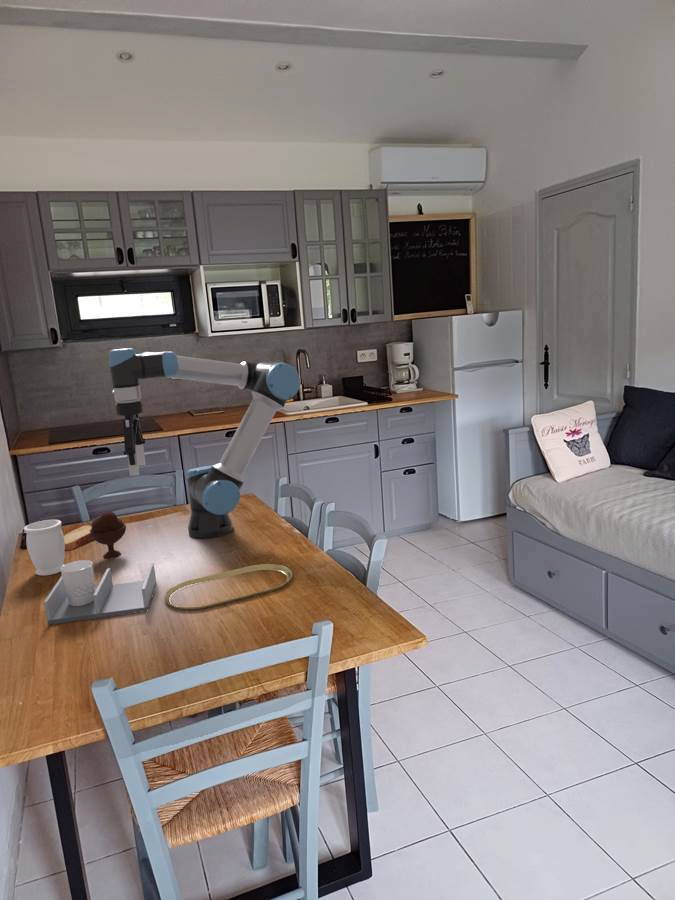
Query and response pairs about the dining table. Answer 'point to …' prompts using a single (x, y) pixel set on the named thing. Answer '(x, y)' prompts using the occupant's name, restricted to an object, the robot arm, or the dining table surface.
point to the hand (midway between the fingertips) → (138, 470)
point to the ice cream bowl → (108, 532)
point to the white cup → (79, 582)
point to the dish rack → (102, 599)
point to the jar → (46, 546)
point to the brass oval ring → (228, 574)
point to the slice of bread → (78, 537)
